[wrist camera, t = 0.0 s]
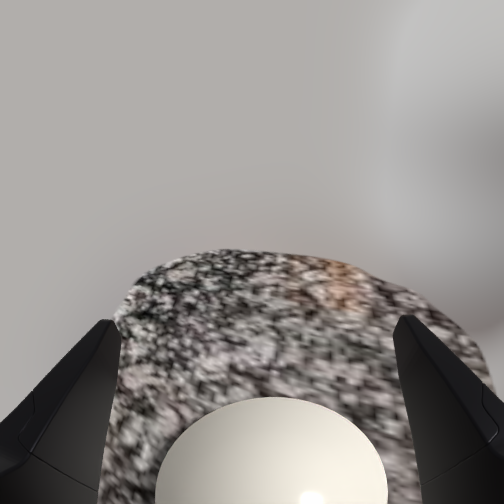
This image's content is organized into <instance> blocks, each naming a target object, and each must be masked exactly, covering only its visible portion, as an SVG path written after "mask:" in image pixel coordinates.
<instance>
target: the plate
mask: <svg viewBox="0 0 504 504" xmlns="http://www.w3.org/2000/svg"><path fill="white" fill-rule="evenodd" d="M387 496H388V489H387V479H386V475H385V471H384V467H383V464H382V462H381V460H380V457H379V455H378V453H377V452H376V450H375V448H374V446H373V445H372V443H371V442H370V441H369V440H368V438H367V437H366V436H365V435H364V434H363V433H362V432H361V431H360V430H359V429H358V428H357V427H356V426H355V425H354V424H352V423H351V422H350V421H348V420H347V419H346V418H344V417H343V416H341V415H339V414H338V413H336V412H334V411H332V410H330V409H327V408H325V407H323V406H320V405H317V404H314V403H311V402H307V401H303V400H298V399H291V398H283V397H266V398H255V399H249V400H244V401H240V402H236V403H233V404H229V405H227V406H224V407H222V408H219V409H217V410H215V411H213V412H211V413H209V414H207V415H205V416H204V417H202V418H201V419H199V420H198V421H196V422H195V423H194V424H192V425H191V426H190V427H189V428H188V429H187V430H185V431H184V432H183V433H182V434H181V436H180V437H179V438H178V439H177V440H176V441H175V442H174V444H173V445H172V447H171V448H170V450H169V451H168V453H167V455H166V457H165V458H164V460H163V462H162V465H161V468H160V471H159V473H158V477H157V483H156V489H155V504H387Z"/></svg>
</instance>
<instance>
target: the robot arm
mask: <svg viewBox="0 0 504 504" xmlns="http://www.w3.org/2000/svg"><path fill="white" fill-rule="evenodd" d="M393 341H394V347H395V354H396V361H397V368H398V375H399V380H400V385H401V389H402V393H403V398H404V402H405V406H406V411H407V415H408V420H409V425H410V430H411V435H412V440H413V445H414V450H415V456H416V462H417V468H418V474H419V481H420V488H421V496H422V504H504V403H503V402H502V401H501V400H500V399H499V398H498V397H497V396H496V395H495V394H494V393H493V392H492V391H491V390H490V389H489V388H488V387H487V386H486V385H485V384H484V383H482V381H481V380H480V379H479V378H478V377H477V376H476V375H475V374H474V373H473V372H472V371H471V370H470V369H469V368H468V367H467V366H466V365H465V364H464V363H463V362H462V361H461V360H460V359H459V358H458V357H457V356H456V355H455V354H454V353H453V352H452V351H451V350H450V349H449V348H448V347H447V346H446V345H445V344H444V343H443V342H442V341H441V340H440V339H439V338H438V337H437V336H436V335H435V334H434V333H433V332H431V331H430V330H429V329H428V328H427V327H426V326H425V325H424V324H423V323H422V322H421V321H420V320H419V319H418V318H417V317H415V316H414V315H412V314H408V315H402V316H401V317H400V318H399V320H398V323H397V325H396V327H395V329H394V332H393ZM120 350H121V335H120V333H119V331H118V329H117V327H116V325H115V323H114V321H113V320H108V319H102V320H100V321H99V322H98V323H97V324H96V325H95V326H94V327H93V328H92V329H91V330H90V331H89V332H88V333H87V334H86V335H85V336H84V337H83V338H82V339H81V340H80V341H79V342H78V343H77V344H76V345H75V346H74V347H73V348H72V349H71V350H70V351H69V352H68V353H67V354H66V355H65V356H64V357H63V358H62V359H61V360H60V362H58V364H56V365H55V367H54V368H53V369H52V370H51V371H50V372H49V373H48V374H47V375H46V376H45V377H44V378H43V380H41V381H40V383H39V384H38V385H37V386H36V387H35V388H34V389H33V391H31V392H30V393H29V394H28V396H27V397H26V398H25V399H24V400H23V401H22V402H21V403H20V404H19V405H18V406H17V407H16V408H15V409H14V410H13V411H12V412H11V413H10V414H9V415H8V416H7V417H6V418H5V419H4V420H3V421H2V422H0V504H97V498H98V489H99V481H100V473H101V466H102V460H103V453H104V447H105V441H106V435H107V430H108V424H109V419H110V414H111V409H112V404H113V399H114V394H115V389H116V384H117V376H118V367H119V358H120Z"/></svg>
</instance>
